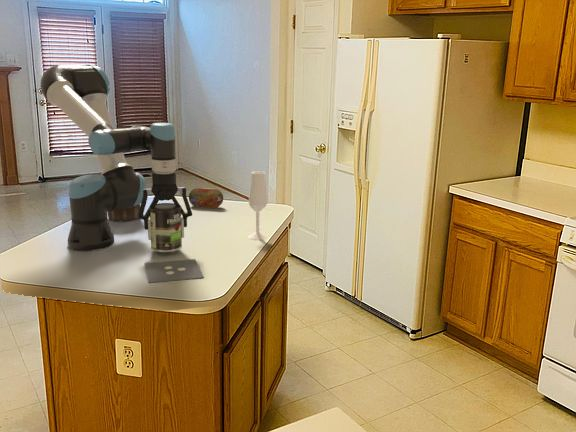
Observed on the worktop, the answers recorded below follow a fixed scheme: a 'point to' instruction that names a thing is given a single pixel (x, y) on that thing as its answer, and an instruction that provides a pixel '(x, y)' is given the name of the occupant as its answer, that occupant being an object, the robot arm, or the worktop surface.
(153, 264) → the dot mat
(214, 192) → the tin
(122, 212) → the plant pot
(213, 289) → the worktop surface
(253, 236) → the champagne flute
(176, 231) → the coffee can
